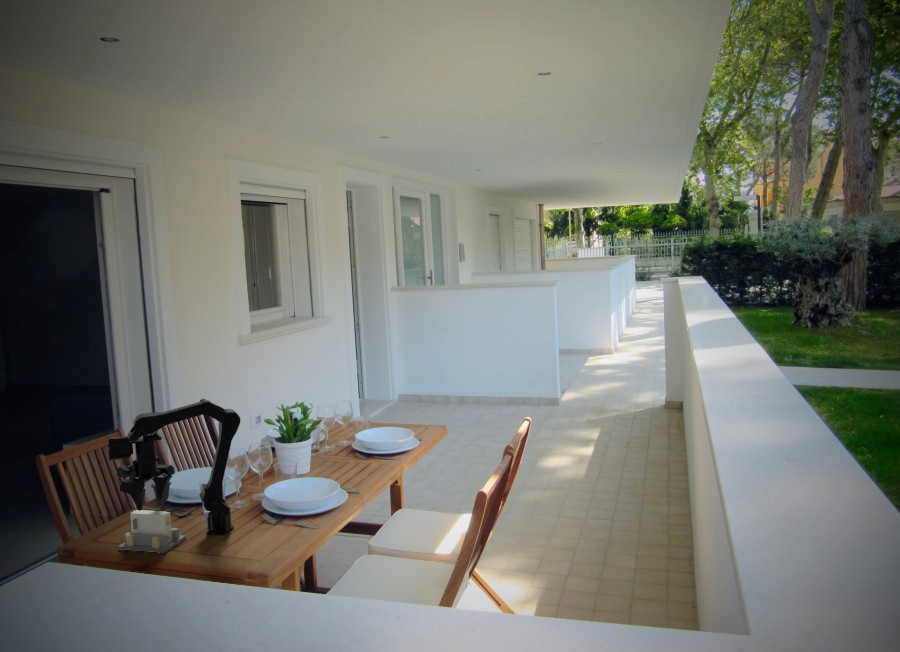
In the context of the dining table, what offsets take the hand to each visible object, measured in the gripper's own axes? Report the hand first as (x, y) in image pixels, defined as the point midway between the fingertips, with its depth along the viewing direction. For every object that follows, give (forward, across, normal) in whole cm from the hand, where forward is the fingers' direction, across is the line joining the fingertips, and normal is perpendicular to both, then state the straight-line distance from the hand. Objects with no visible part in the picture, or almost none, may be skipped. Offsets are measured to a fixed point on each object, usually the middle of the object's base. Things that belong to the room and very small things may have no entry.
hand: (149, 505), depth 215 cm
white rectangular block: (+11, 0, 0) cm, 11 cm away
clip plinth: (+12, 0, 0) cm, 12 cm away
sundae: (+13, -25, -15) cm, 32 cm away
